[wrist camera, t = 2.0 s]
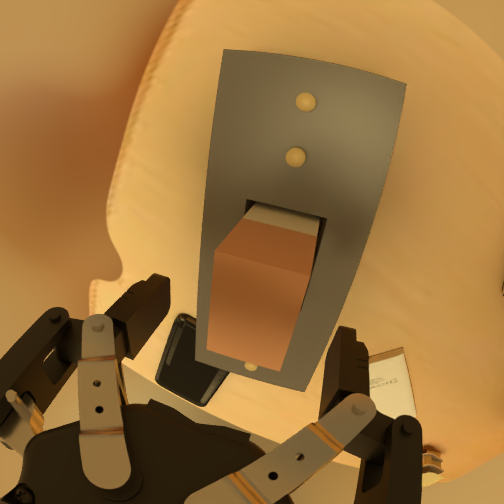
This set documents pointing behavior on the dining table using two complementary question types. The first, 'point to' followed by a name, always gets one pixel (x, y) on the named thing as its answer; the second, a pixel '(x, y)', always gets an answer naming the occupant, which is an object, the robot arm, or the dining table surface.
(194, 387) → the phone
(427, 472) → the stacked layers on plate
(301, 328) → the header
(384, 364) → the external hard drive
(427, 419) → the dining table surface
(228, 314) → the plug
